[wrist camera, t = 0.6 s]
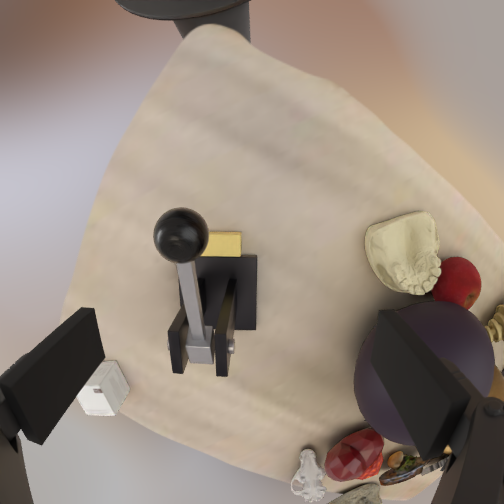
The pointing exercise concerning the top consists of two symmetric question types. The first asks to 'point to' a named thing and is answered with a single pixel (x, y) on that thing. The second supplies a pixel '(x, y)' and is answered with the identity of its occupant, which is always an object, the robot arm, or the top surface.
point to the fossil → (360, 496)
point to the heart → (353, 455)
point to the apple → (457, 282)
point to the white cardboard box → (104, 390)
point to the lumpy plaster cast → (405, 252)
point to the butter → (223, 244)
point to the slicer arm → (187, 273)
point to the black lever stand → (218, 307)
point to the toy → (434, 466)
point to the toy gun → (496, 325)
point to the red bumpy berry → (372, 469)
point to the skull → (309, 477)
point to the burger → (402, 468)
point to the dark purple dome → (443, 345)
